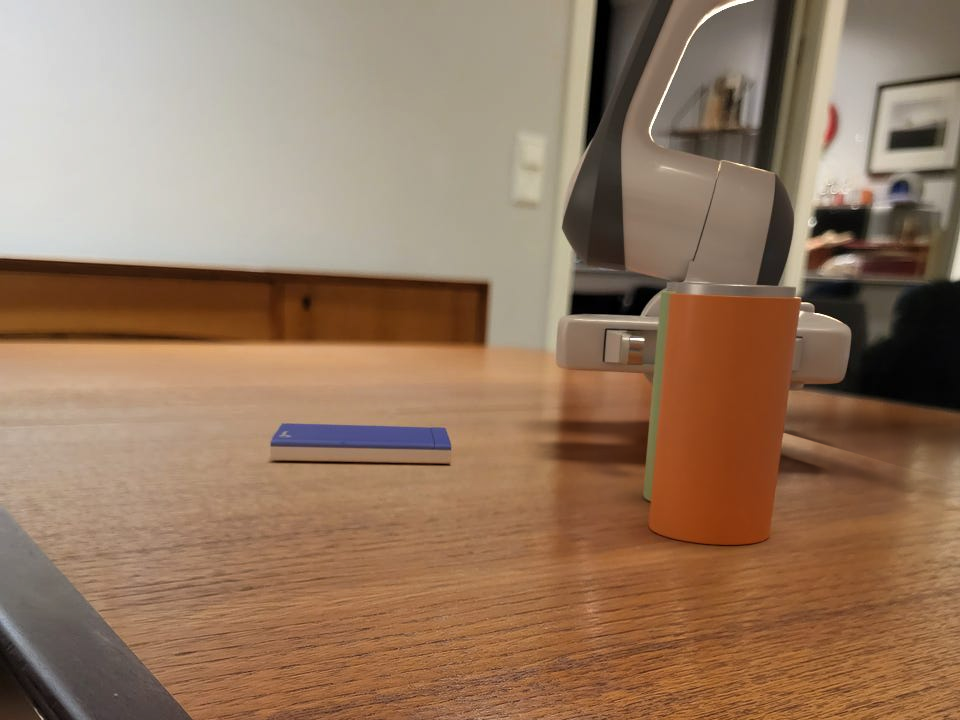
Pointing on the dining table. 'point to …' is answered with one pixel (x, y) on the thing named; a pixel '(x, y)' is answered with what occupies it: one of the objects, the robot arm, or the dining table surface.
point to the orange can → (722, 411)
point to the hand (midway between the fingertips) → (705, 354)
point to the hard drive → (360, 444)
